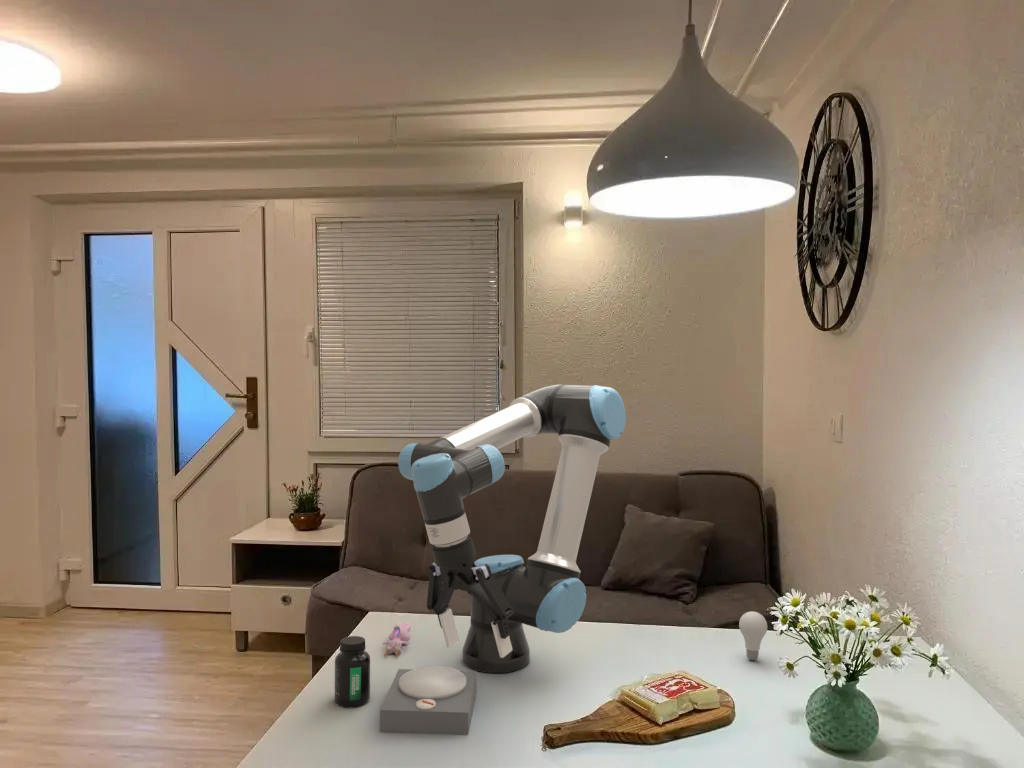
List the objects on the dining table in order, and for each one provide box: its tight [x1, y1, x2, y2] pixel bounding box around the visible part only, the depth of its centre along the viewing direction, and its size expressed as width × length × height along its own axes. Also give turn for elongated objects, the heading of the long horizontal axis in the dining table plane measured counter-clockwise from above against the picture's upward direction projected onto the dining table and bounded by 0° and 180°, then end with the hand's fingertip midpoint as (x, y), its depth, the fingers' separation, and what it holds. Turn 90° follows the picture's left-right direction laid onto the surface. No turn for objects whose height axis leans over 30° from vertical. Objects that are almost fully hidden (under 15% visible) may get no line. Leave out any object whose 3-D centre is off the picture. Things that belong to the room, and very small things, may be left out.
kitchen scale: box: [379, 665, 478, 735], centre depth 145 cm, size 18×16×5 cm
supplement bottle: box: [334, 635, 371, 708], centre depth 148 cm, size 7×7×12 cm
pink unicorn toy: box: [382, 621, 412, 658], centre depth 177 cm, size 6×6×15 cm
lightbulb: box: [738, 610, 768, 661], centre depth 171 cm, size 6×6×11 cm
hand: (479, 648), depth 139 cm, fingers open, 13 cm apart
